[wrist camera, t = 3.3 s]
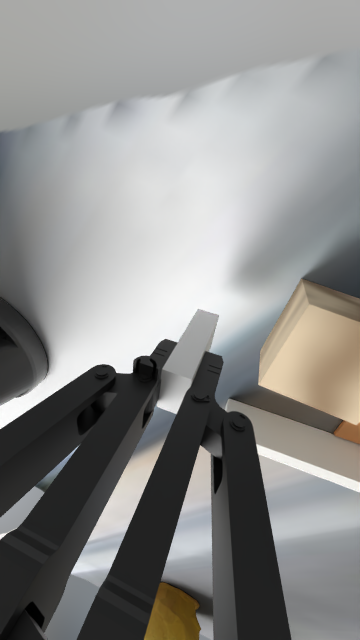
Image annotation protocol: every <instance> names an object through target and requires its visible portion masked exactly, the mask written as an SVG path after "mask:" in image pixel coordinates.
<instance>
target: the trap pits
mask: <svg viewBox="0 0 360 640" xmlns="http://www.w3.org/2000/svg"><path fill="white" fill-rule="evenodd" d="M334 435H335V436H337V437H340V438H343V439H346V440H349V441H352V442H355V443H358V444H360V422H359V423H358V424H357V425H354V424H352V423H350V422H347V421H345V420H343V421H342V423H341V424H340V425H339V427H338V428H337V429H336V430H335V432H334Z"/></svg>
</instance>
